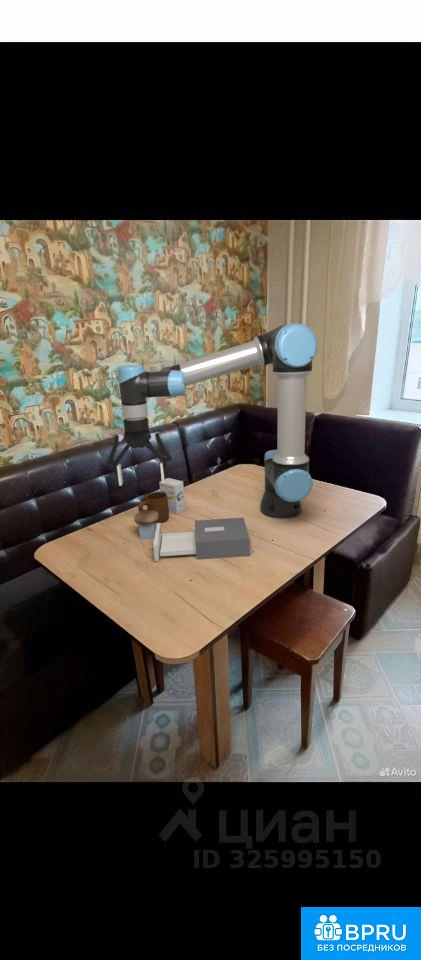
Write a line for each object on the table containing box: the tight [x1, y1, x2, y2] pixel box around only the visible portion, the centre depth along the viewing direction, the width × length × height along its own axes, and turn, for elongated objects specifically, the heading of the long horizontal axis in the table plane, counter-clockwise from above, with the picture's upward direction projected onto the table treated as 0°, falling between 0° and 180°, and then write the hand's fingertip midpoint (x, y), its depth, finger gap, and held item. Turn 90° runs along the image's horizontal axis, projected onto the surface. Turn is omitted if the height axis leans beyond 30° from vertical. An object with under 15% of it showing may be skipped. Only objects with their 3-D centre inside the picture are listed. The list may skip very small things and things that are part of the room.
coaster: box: [133, 509, 159, 525], centre depth 135 cm, size 8×8×2 cm
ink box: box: [159, 477, 186, 515], centre depth 155 cm, size 8×5×12 cm, turn 52°
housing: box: [194, 517, 251, 561], centre depth 127 cm, size 16×15×6 cm
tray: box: [152, 523, 196, 562], centre depth 127 cm, size 16×15×6 cm
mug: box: [137, 491, 170, 524], centre depth 146 cm, size 12×8×9 cm, turn 134°
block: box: [138, 522, 157, 540], centre depth 136 cm, size 5×5×6 cm
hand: (142, 483), depth 131 cm, fingers open, 13 cm apart
